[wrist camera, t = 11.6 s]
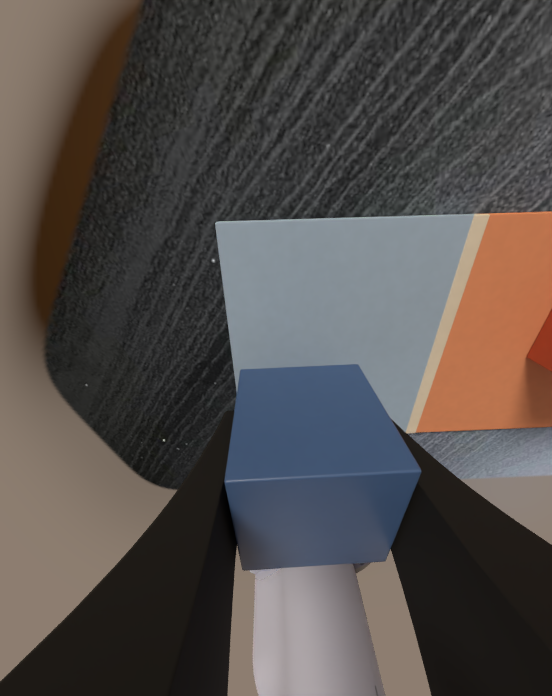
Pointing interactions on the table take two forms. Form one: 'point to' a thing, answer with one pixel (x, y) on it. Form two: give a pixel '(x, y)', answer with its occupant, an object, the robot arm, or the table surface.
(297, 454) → the slate blue block
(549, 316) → the terracotta block
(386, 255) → the mat
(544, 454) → the table surface
